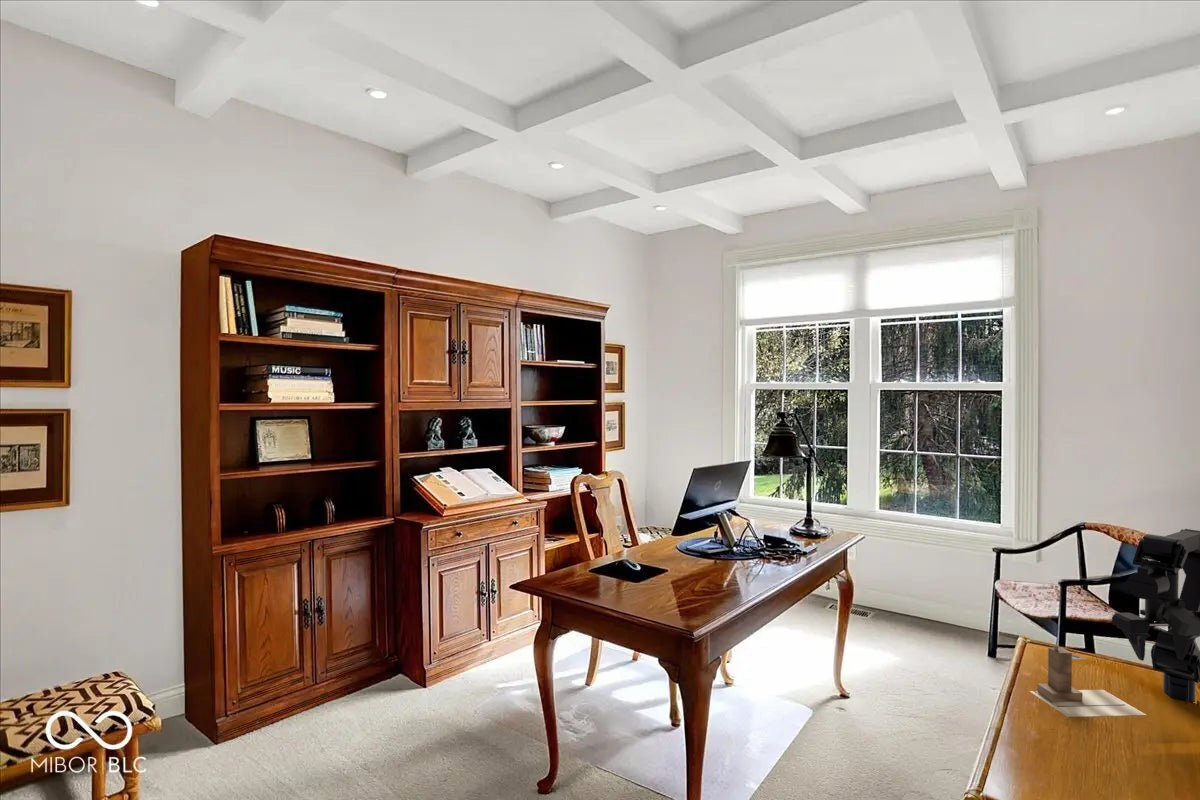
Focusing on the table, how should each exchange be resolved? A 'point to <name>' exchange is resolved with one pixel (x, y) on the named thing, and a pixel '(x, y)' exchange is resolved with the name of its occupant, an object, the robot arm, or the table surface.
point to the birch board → (1093, 705)
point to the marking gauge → (1059, 677)
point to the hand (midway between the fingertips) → (1160, 659)
